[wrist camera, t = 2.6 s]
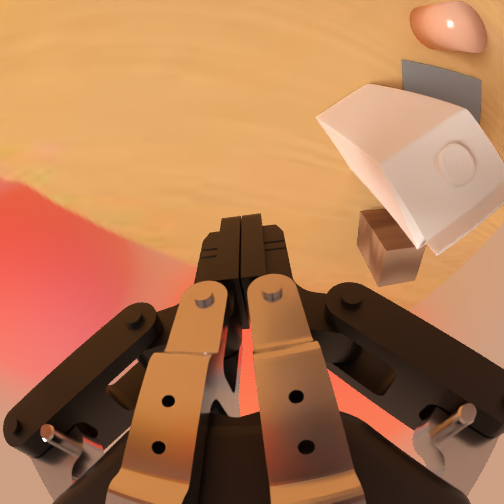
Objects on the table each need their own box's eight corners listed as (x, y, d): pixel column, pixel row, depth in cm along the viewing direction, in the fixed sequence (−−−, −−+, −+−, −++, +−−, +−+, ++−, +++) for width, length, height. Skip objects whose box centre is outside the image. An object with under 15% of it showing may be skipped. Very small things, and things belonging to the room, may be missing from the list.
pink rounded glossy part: (406, 1, 15) (443, -7, 9) (444, 13, 15) (483, 11, 9) (412, 44, 18) (452, 44, 13) (449, 54, 18) (489, 59, 12)
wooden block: (360, 211, 31) (386, 250, 25) (395, 208, 31) (425, 245, 24) (356, 244, 34) (378, 287, 28) (389, 240, 34) (415, 280, 27)
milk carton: (398, 136, 25) (523, 229, 10) (349, 168, 28) (445, 292, 13) (367, 82, 22) (515, 128, 7) (314, 116, 24) (418, 201, 9)
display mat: (401, 59, 20) (403, 59, 19) (479, 79, 19) (481, 80, 19) (397, 190, 29) (398, 191, 29) (468, 188, 28) (469, 189, 28)
